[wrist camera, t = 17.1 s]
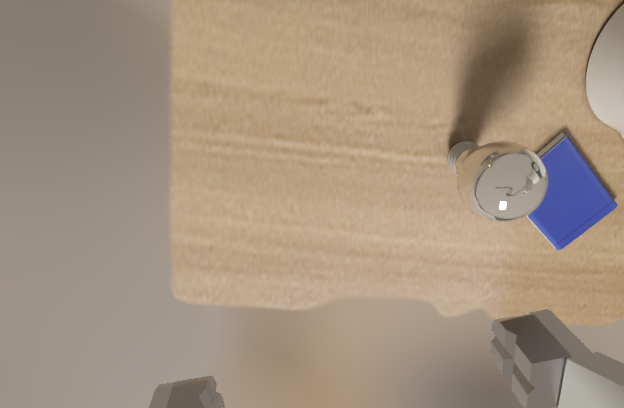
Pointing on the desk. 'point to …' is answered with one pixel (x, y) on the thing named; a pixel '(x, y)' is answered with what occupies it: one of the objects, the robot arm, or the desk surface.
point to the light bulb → (499, 179)
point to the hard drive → (569, 195)
